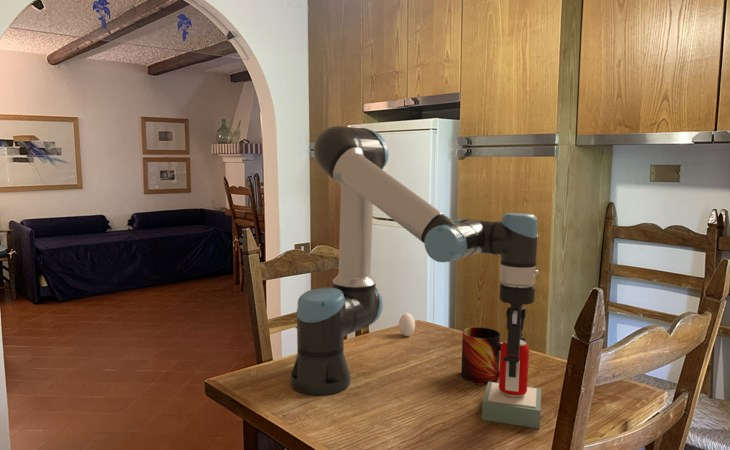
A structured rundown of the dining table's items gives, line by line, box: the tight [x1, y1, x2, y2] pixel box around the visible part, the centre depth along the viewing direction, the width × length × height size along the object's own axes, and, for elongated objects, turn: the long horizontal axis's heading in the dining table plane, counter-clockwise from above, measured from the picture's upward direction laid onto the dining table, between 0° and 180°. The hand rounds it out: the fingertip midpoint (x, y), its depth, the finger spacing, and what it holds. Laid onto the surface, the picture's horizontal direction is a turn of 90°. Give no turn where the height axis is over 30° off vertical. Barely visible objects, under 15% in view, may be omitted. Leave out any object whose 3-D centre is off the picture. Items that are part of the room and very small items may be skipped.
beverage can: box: [498, 338, 530, 397], centre depth 118 cm, size 6×6×12 cm
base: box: [481, 381, 542, 430], centre depth 119 cm, size 12×12×4 cm
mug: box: [460, 326, 502, 385], centre depth 139 cm, size 10×14×12 cm
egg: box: [398, 312, 416, 337], centre depth 173 cm, size 5×5×8 cm
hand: (513, 379), depth 119 cm, fingers open, 11 cm apart
